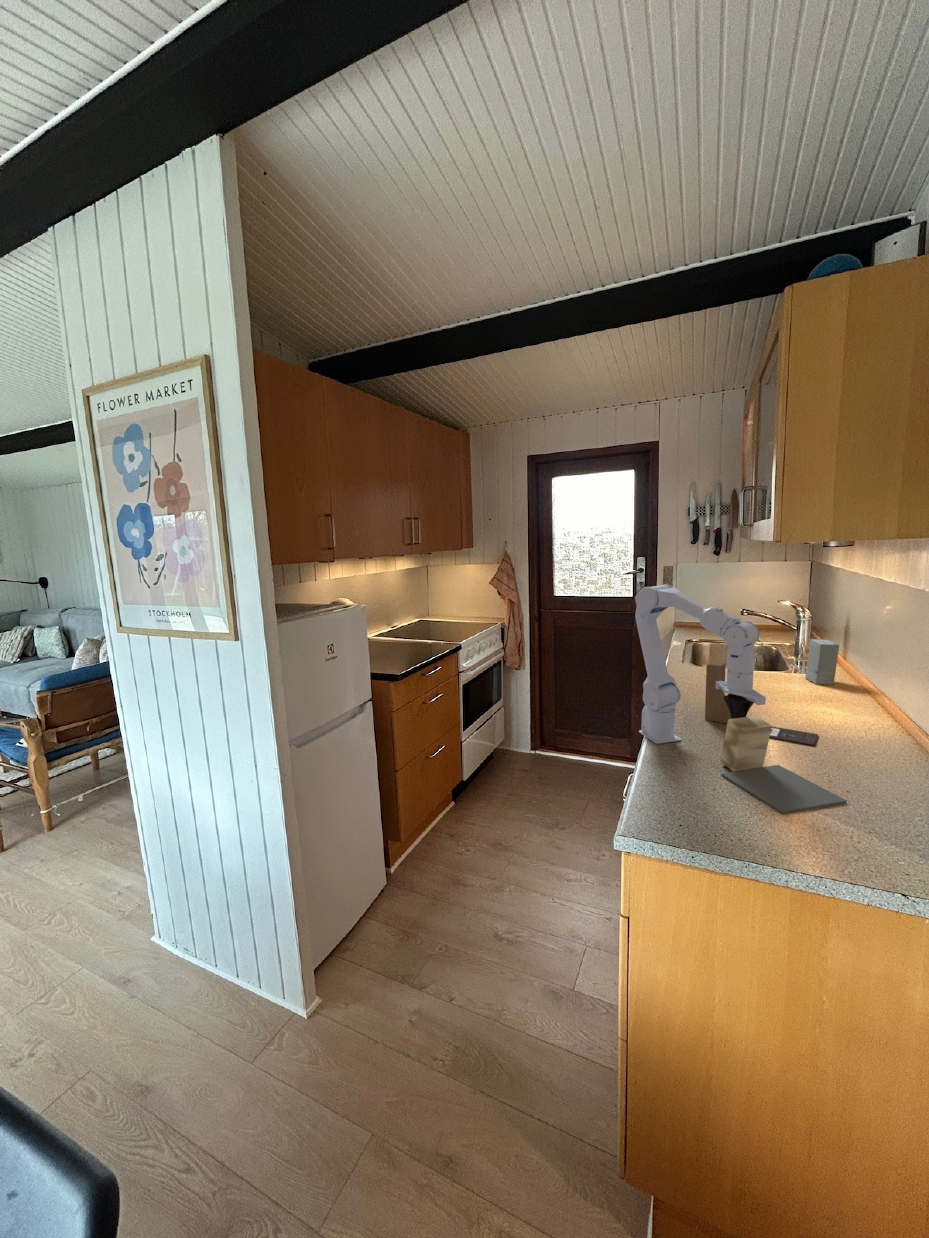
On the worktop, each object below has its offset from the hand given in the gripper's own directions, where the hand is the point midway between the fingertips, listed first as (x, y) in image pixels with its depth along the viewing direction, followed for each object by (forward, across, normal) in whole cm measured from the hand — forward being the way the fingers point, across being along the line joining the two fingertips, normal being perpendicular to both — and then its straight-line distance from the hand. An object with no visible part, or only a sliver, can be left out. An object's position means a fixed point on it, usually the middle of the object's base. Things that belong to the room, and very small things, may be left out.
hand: (738, 724), depth 125 cm
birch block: (+10, +2, 0) cm, 10 cm away
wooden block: (+11, -26, +17) cm, 33 cm away
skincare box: (+11, -49, +78) cm, 93 cm away
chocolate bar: (+11, -12, +24) cm, 29 cm away
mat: (+10, +14, 0) cm, 17 cm away
